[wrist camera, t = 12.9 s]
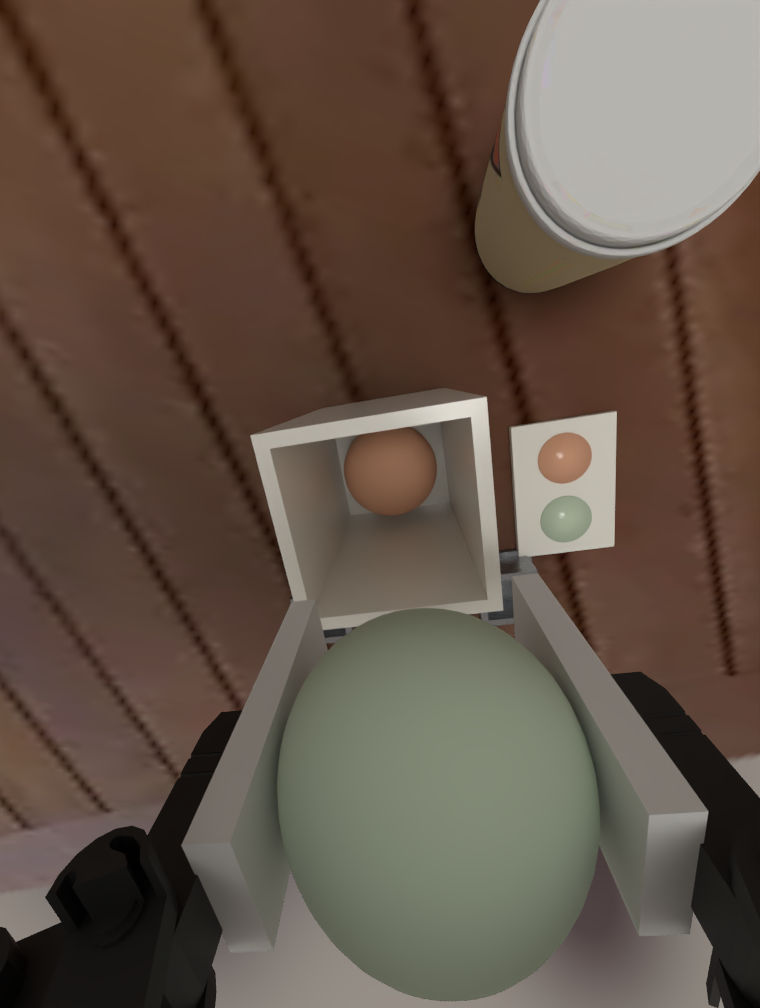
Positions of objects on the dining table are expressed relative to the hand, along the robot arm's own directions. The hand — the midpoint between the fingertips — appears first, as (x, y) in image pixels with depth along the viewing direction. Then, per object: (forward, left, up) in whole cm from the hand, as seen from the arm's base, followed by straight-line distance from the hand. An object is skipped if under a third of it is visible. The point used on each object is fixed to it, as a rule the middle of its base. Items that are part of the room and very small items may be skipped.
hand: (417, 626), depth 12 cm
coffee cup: (-15, +10, -18) cm, 26 cm away
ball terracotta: (-2, -1, -17) cm, 18 cm away
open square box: (-2, -1, -18) cm, 18 cm away
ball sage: (0, 0, +1) cm, 1 cm away
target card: (+2, +11, -18) cm, 21 cm away
